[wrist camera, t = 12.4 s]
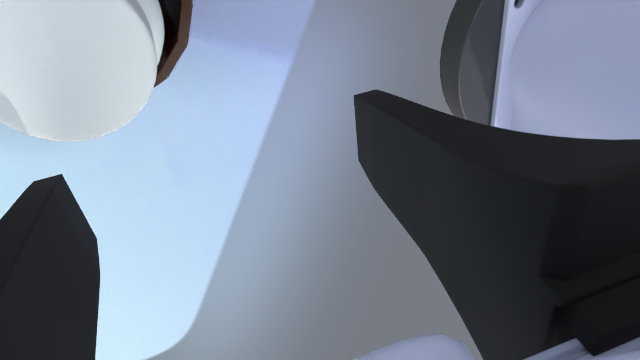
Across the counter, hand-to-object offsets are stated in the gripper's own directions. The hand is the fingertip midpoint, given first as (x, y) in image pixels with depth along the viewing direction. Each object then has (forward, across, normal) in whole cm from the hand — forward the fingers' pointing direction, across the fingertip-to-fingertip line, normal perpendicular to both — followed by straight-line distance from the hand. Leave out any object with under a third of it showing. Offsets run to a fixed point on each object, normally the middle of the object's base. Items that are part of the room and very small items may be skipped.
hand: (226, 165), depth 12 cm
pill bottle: (+10, +3, -3) cm, 11 cm away
